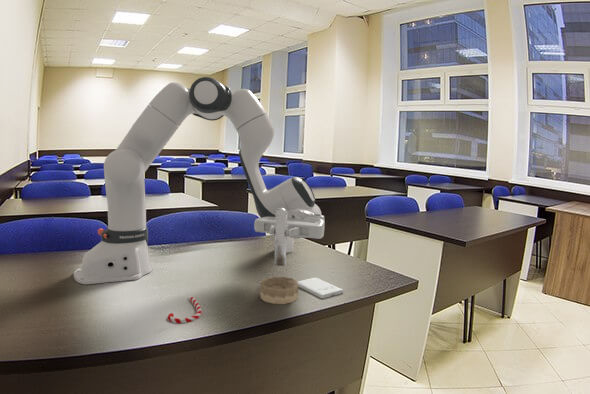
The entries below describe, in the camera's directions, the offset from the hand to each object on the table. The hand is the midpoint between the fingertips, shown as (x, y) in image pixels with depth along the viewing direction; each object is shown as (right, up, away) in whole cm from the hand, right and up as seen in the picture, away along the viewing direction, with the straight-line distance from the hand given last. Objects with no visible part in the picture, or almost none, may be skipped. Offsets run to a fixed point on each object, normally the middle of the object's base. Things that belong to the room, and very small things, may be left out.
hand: (279, 232), depth 113 cm
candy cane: (-23, -20, -7) cm, 31 cm away
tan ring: (0, -18, +3) cm, 18 cm away
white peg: (0, -9, +2) cm, 9 cm away
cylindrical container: (0, -12, +52) cm, 53 cm away
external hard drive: (+11, -18, +11) cm, 24 cm away
